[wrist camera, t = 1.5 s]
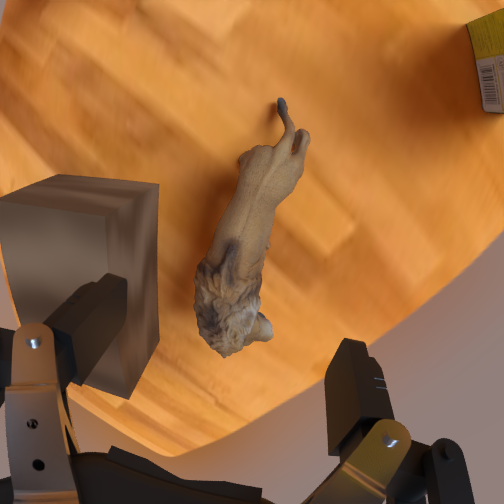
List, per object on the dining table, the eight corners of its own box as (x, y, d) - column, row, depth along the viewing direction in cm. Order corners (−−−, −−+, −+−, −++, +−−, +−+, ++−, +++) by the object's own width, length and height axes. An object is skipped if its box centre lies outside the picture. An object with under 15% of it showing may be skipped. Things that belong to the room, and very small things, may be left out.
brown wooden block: (59, 173, 23) (-6, 200, 16) (160, 183, 23) (105, 216, 15) (75, 315, 29) (34, 362, 22) (160, 339, 29) (128, 399, 22)
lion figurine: (274, 296, 25) (265, 378, 17) (209, 281, 25) (174, 357, 17) (318, 106, 19) (339, 97, 11) (239, 91, 19) (205, 73, 11)
